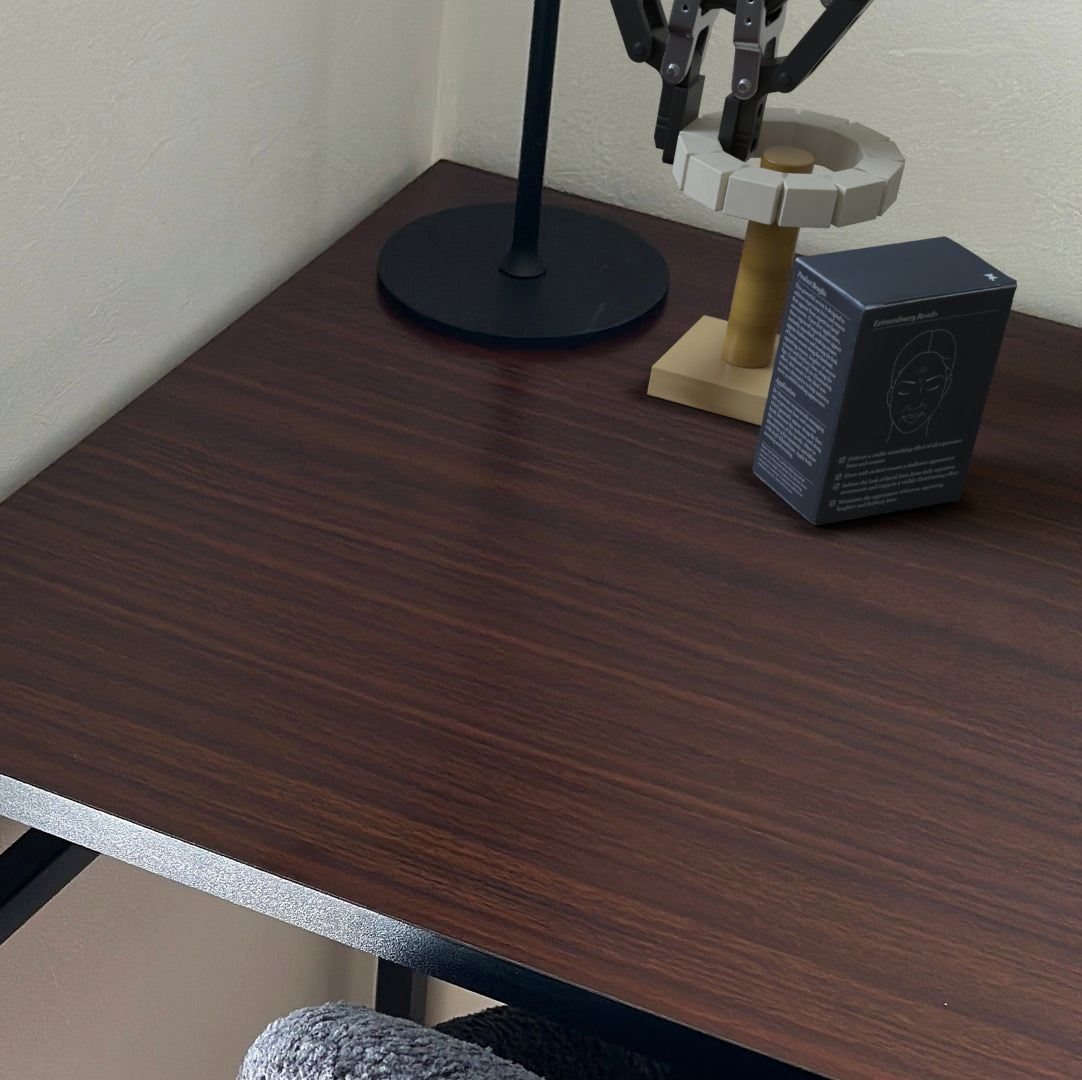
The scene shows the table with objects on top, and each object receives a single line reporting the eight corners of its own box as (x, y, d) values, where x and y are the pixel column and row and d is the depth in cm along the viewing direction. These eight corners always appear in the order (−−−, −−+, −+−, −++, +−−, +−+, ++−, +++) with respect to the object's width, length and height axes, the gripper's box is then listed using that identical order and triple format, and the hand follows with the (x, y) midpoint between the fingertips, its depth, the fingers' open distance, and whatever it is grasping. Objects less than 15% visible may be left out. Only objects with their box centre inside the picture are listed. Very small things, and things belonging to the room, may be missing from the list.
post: (832, 377, 117) (886, 148, 110) (784, 432, 112) (838, 197, 105) (698, 342, 120) (743, 116, 112) (646, 394, 115) (689, 162, 108)
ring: (921, 174, 111) (930, 136, 110) (853, 245, 104) (863, 206, 103) (718, 129, 115) (726, 92, 114) (641, 195, 108) (648, 156, 107)
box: (891, 448, 111) (947, 231, 105) (961, 505, 107) (1024, 283, 100) (745, 471, 109) (793, 251, 102) (811, 530, 105) (865, 305, 98)
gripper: (961, -232, 100) (868, 172, 111) (654, -278, 105) (595, 111, 116) (907, -194, 95) (815, 225, 106) (588, -245, 100) (533, 158, 111)
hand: (700, 163), depth 111 cm, fingers closed on ring, 2 cm apart
